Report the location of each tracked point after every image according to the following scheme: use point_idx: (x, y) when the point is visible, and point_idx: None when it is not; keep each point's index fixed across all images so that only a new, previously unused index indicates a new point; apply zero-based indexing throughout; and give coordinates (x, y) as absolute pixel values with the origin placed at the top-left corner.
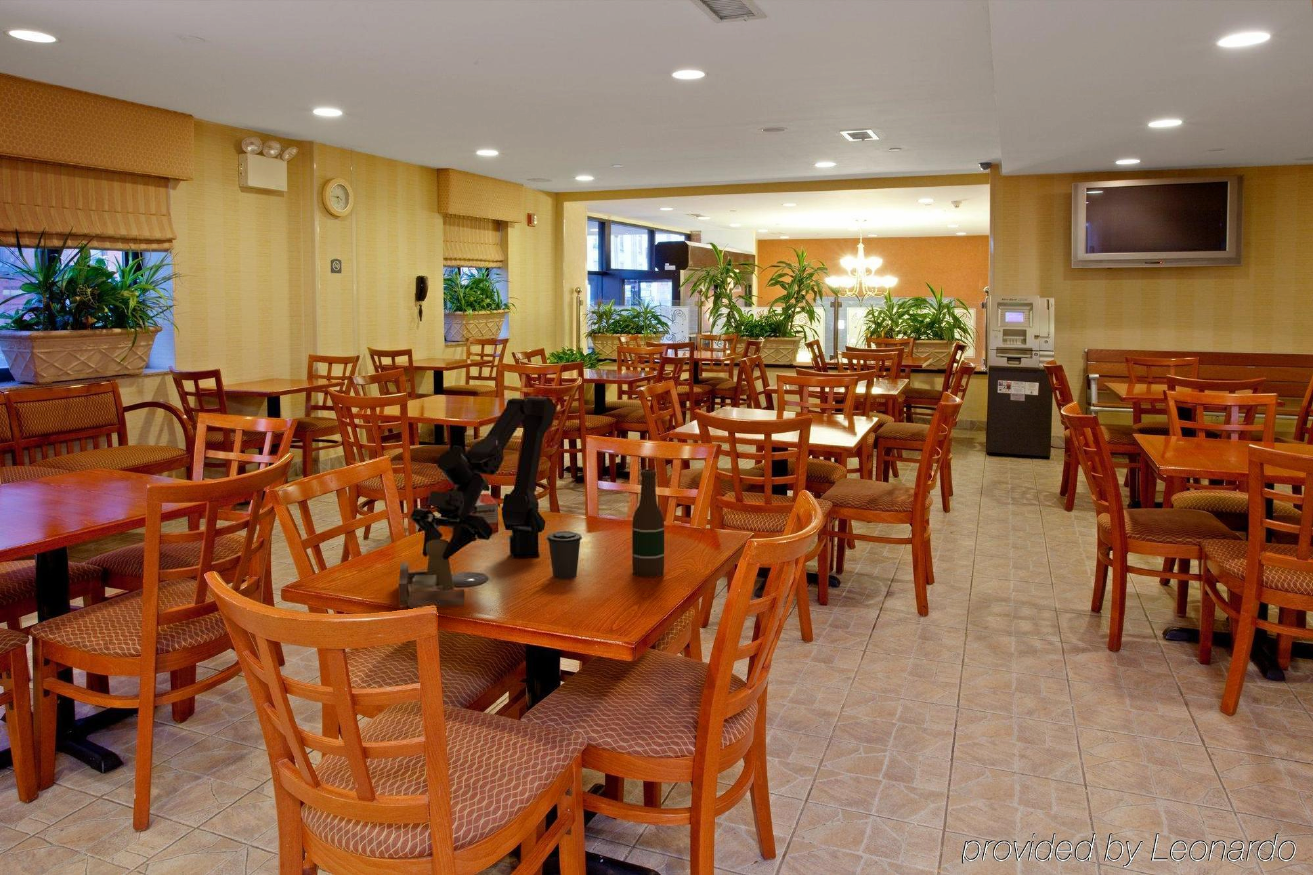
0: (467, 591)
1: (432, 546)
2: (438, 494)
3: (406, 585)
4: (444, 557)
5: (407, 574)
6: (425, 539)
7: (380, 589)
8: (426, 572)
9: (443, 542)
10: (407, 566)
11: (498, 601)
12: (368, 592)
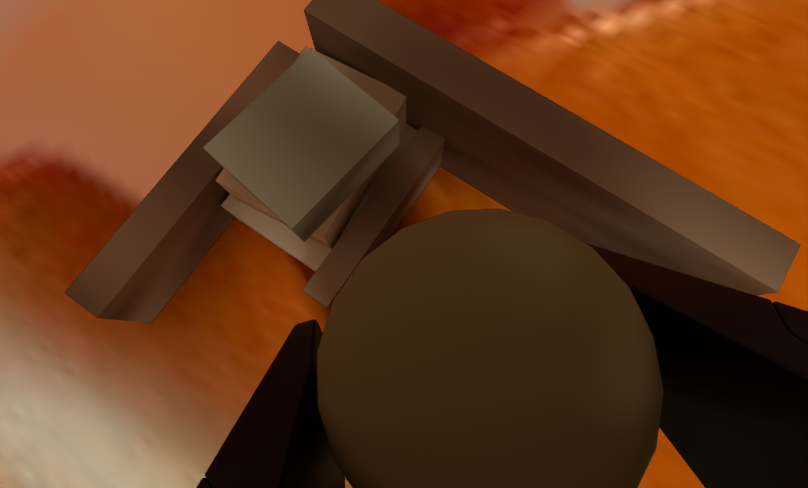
0: None
1: (414, 226)
2: None
3: (308, 18)
4: (298, 328)
5: (484, 119)
6: (746, 306)
7: (678, 155)
8: None
9: (366, 394)
10: (667, 222)
11: (10, 484)
12: (668, 92)
